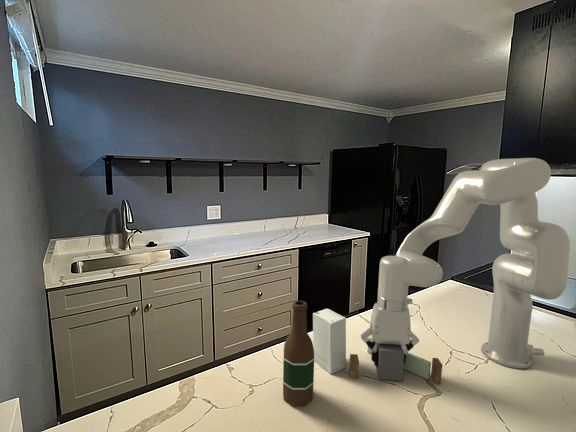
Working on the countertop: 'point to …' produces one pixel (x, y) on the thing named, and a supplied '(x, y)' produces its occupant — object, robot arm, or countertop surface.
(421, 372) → the door
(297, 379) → the beer bottle
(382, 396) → the countertop surface
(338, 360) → the skincare box
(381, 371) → the block
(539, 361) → the countertop surface
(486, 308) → the countertop surface
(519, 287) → the robot arm
